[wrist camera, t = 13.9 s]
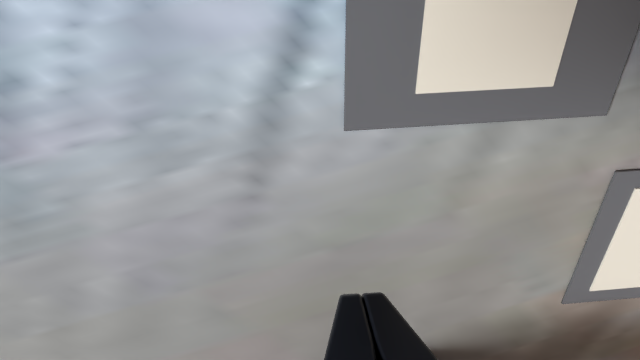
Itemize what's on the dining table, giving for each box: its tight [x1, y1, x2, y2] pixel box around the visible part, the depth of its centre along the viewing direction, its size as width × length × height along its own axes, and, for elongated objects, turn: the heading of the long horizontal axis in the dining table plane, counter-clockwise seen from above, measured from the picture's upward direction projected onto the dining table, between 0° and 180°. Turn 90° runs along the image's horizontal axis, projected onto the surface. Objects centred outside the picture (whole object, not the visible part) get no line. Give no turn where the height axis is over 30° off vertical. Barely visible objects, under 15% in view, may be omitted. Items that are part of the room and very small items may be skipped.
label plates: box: [344, 0, 640, 304], centre depth 20 cm, size 24×20×1 cm
